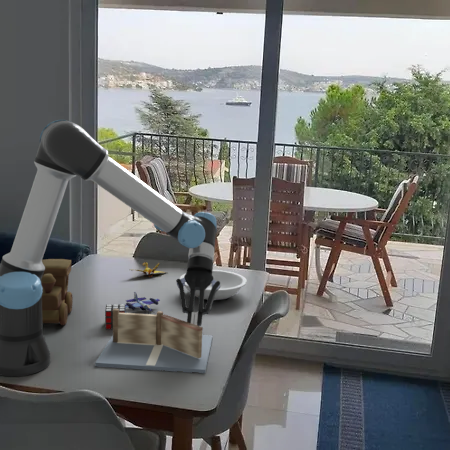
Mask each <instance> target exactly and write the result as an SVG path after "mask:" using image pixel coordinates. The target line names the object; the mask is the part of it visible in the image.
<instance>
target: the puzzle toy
mask: <svg viewBox="0 0 450 450" xmlns="http://www.w3.org/2000/svg"><path fill="white" fill-rule="evenodd" d="M113 309H119V313H127V311H126V310H127V309H126V303H123V304H118V303H116V304H114V303H113V304H111V303H110V304H109V303H108V304H105V310H104V311H105V312H104V313H105V315H104V316H105V318H104V325H105V326H104V327H105V330H113Z"/></svg>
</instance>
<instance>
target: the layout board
mask: <svg viewBox="0 0 450 450" xmlns="http://www.w3.org/2000/svg"><path fill="white" fill-rule="evenodd" d="M212 343H213V335H210V334H202V353H201V358H199V359H198V358H196V357H193V356H191V355H188V354H185V353H183V352H180V351H178V350H175V349H172V348H170V347H167V346H165V345H157V344H144V343H128V342H113V334H112V336H111V337H110V339H109V340H108V341H107V343H106V345H105V347H104V348H103V350H102V351H101V353H100V355H99V356H98V358H97V359H96V361H95V363H94V365H95V367H101V368H102V367H104V368H118V369H133V370H135V369H136V370H147V371H148V370H149V371H151V370H152V371H161V370H162V372H165V371H166V372H177V371H183V372H182V373H192V372H199V373H198V374H206V372H207V366H208V363H207V362H208V361H209V356H210V354H211V353H210V352H211V347H212ZM163 370H165V371H163Z"/></svg>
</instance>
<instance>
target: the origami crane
mask: <svg viewBox="0 0 450 450" xmlns="http://www.w3.org/2000/svg"><path fill="white" fill-rule="evenodd" d="M141 266H143V267H145V268H144V269H143V270H142V269H135V271H137V272H142V273H143V275H144V276H148V277H149V278H152V277H153V275H151V273H152V274H157V273H158V274H159V273H161V274H162V273H164V274H165V273H166V274H168V272H165V271H160V270H158V267H159V266H160V262H157V263H156V264H155V265H154V267H153V268H150V267H149V263H148V262H146V261H145V262H143V263H142V265H141ZM129 271H131V272H133V271H134V269H131V268H129Z"/></svg>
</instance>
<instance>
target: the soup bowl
mask: <svg viewBox="0 0 450 450" xmlns="http://www.w3.org/2000/svg"><path fill="white" fill-rule="evenodd" d="M185 274H186V273H183V274H182V275H180V277H179V279H182V278H184V276H185ZM212 276H213V279H214V280H215V281H219V282H220V288H219V289H218V291H217V292H216V294H215V297H214V300H213V301H220V300H221V301H222V300H226V299H229V298H232V297H233V296H234V295H236V294H237V293H239V291H240V290H241V289H242V288H243V287H245V286H246V285H247V283H248V281H247V278H246V277H245V276H243V275H242V274H239V273H237V272H233V271H229V270H221V269H213V271H212ZM184 287H185V289H186V290H187V291H188V292H189V293H190V290H191V289H190V287H189V286H188V284H187V283H186V282H185V286H184ZM211 289H212V283H211V284H210V285H209V286H208V288H207V289H205V294H204V300H208V297H209V295H210V292H211ZM199 294H200V291H199V290H196V293H195V298H199Z"/></svg>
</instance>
